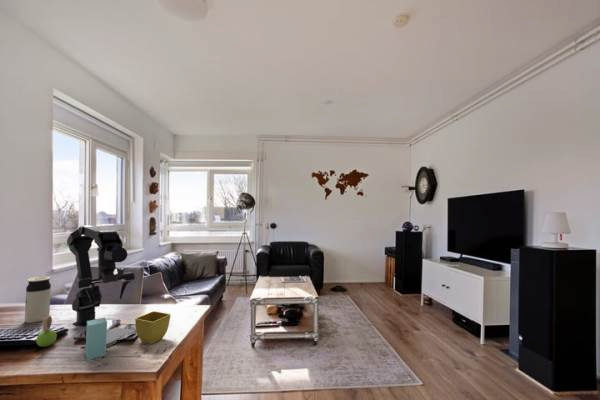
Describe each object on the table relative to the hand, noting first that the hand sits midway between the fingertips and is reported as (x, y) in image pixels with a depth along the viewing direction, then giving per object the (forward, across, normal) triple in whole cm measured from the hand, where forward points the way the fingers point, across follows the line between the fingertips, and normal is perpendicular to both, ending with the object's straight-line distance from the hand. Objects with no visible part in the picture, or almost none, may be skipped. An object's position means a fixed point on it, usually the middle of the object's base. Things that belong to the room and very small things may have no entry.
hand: (106, 301), depth 113 cm
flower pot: (+14, +11, -18) cm, 26 cm away
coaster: (+13, 0, -6) cm, 14 cm away
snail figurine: (+12, -18, +2) cm, 22 cm away
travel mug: (+9, -19, +36) cm, 42 cm away
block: (+14, -6, -17) cm, 23 cm away
